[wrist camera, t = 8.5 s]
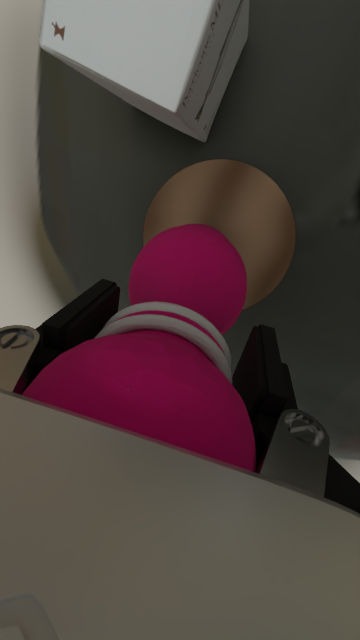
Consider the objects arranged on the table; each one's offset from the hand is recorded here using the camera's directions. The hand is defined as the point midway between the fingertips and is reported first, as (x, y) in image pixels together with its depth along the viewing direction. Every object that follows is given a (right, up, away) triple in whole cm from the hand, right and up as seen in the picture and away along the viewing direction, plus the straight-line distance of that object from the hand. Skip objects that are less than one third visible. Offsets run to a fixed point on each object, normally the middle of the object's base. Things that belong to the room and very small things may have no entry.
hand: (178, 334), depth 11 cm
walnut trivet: (+4, +9, +16) cm, 18 cm away
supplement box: (+1, +20, +10) cm, 23 cm away
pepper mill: (+1, +5, +10) cm, 11 cm away
